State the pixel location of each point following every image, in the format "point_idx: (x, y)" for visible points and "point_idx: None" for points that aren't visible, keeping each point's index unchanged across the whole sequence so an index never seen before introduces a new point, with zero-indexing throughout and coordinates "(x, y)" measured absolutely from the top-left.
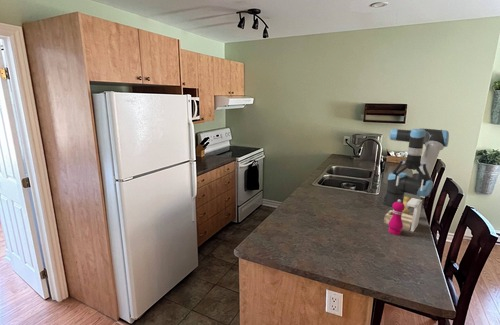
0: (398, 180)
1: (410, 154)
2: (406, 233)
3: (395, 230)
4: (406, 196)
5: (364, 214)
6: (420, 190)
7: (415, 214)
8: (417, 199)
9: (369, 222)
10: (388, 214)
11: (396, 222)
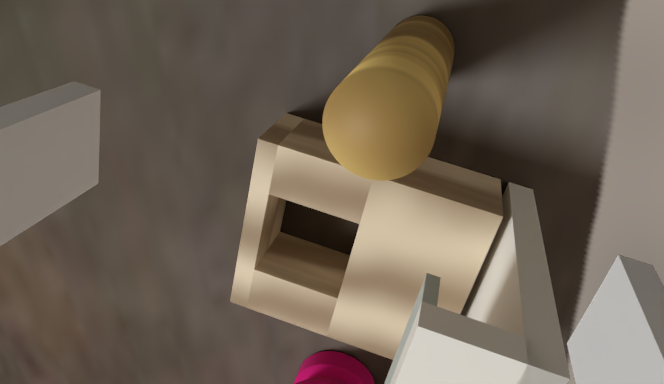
0: (2, 185)
1: None
2: None
3: None
4: (362, 105)
5: (99, 156)
6: (572, 346)
7: None
8: (494, 371)
9: (170, 289)
10: (253, 271)
11: None
